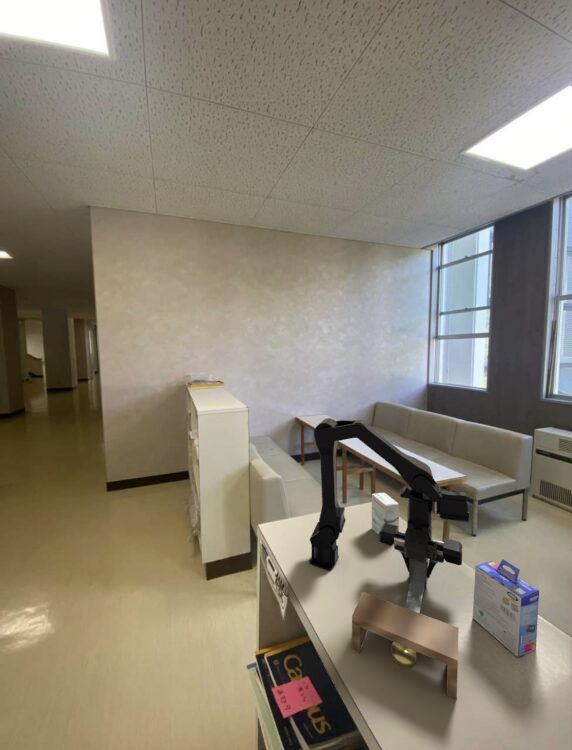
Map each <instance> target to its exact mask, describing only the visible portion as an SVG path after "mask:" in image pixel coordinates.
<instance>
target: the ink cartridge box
mask: <svg viewBox="0 0 572 750" xmlns="http://www.w3.org/2000/svg"><path fill="white" fill-rule="evenodd" d="M504 566H505V567H507V568H509V569H511V570H512V571H513V572H514V573H512V572H510V571H509V570H508V569H506V568H504ZM474 567H475V569H474V589H473V605H472V606H473V608H472V609H473V610H472V618H473V620H474V621H475V622H477V623H478V624H479V625H480V626H481V627H482V628H483V629H485V630H486V631H487V632H488V633H489V634H490V635H491V636H493V637H494V638H495V639H496V640H497V641H499V643H500V644H502V645H503V647H505V648H506V649H508V650H509V651H510V652H511V653H512V654H513V655H514V656H515V657H522V656H524V655H527V654H529V653H532V652H535V651H536V650H537V637H538V636H537V635H538V617H539V616H538V615H539V602H540V601H539V598H540V590H539V589H538V588H537V587H534V586H533V585H531V584H530V583H528V582H526V581H525V580H523V579H521V578H520V577H519V574H520V571H521V569H519V568H518V567H516V566H515V565H513V564H512V563H510V562H508V561H507V560H506V559H504V558H502V559H501V560H500V563H499V564H497V562H495V561H493V560H489V561H487V562H483V563H480V564H477V565H475V566H474Z"/></svg>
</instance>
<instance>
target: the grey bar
mask: <svg viewBox="0 0 572 750" xmlns="http://www.w3.org/2000/svg"><path fill="white" fill-rule="evenodd" d="M428 565H429V559H427V561H426V562H425V563H422V562H419V561H417V560H413V559H409V572H408V584H409V587H408V592H407V595H406V602H405V605H404V608H407V609H410V610H412V611H415V612H418V613H420V614H421V610H422V605H423V604H422V603H423V598H424V592H425V590H427V588H428V587H427V586H428V582H429V578H427V571H428Z"/></svg>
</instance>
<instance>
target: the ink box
mask: <svg viewBox="0 0 572 750" xmlns="http://www.w3.org/2000/svg"><path fill="white" fill-rule="evenodd" d="M399 520H400V504H399V503H398V502H397V501H396V500H395V499H393V498H392V497H391V496H390V495H389V494H387V493H386V492H376V493H371V529H372V530H373V531H374V533H376V535H378V536H379V532H380V530H381V528H382V526H383V524H384V523H388V524H392V525H396V526H398V527H399V528H400V521H399Z"/></svg>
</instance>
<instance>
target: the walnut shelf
mask: <svg viewBox="0 0 572 750" xmlns="http://www.w3.org/2000/svg"><path fill="white" fill-rule="evenodd" d="M358 599H359V600H358V601H357V603H356V606H355V608H354V611H353V613H352V615H351V650H352V651H354V652H355V653H358V654H360V653H361V651H362V648H363V644H364V641H365V639H366V636H367V634H368V631H369V632H371V633H374V634H376V635H377V636H381V637H383V638H385V639H387V640H389V641H392V642H396V643H399V644H401V645H403V646H406V647H408V648H410V649H412V650H415V651H416V653H417V652H418V653H420V654H422V655H424V656H426V657H429V658H431V659H433V660H436V661H438V662H440V663H443V664H446V666H447V667H446V669H447V670H446V671H447V672H446V695H447V696H448V697H451V698H453V699H454V700H457V699H458V698H457V697H458V696H457V695H458V672H459V671H458V668H459V667H458V665H459V630H460V629H459V627H457V626H455V625H452V624H449V623H447V622H444V621H441V620H440V619H436V618H433V617H430V616H427V615H425V614H422V613H421V612H420V613H418V612H415V611H412V610H410V609H407V608H405V606H402V605H398V604H396V603H393V602H390V601H388V600H386V599H382V598H380V597H377V596H374V595H372V594H370V593H367V592H363V591H362V592H361V594H360V597H359V598H358Z"/></svg>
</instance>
